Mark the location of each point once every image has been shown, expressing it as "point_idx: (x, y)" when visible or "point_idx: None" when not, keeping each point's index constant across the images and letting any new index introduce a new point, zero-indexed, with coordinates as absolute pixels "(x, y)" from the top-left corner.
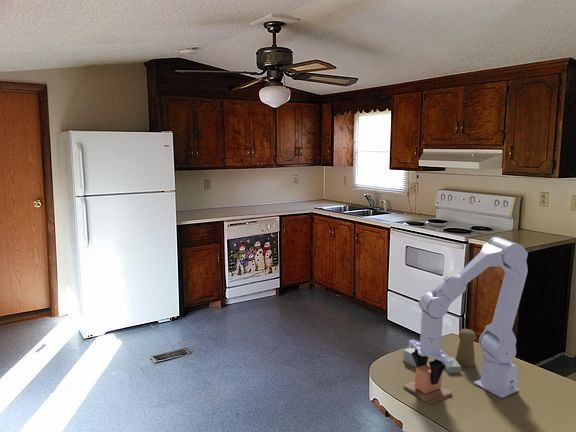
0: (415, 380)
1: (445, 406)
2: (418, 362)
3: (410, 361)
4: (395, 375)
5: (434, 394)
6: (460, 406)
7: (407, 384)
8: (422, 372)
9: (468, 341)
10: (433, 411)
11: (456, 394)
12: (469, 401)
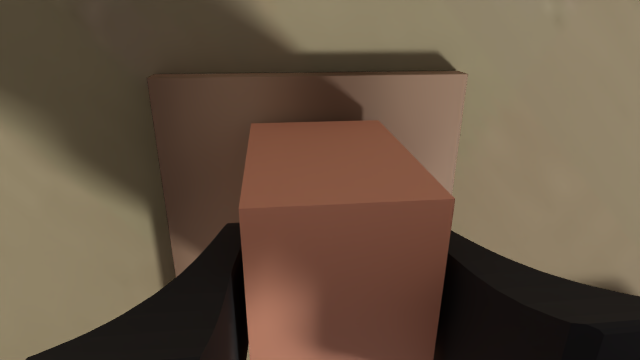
0: (392, 140)
1: (76, 163)
2: (489, 291)
3: None
4: (606, 149)
5: (221, 193)
6: (35, 258)
7: (452, 111)
8: (322, 199)
9: None
10: (44, 13)
11: None
12: None
